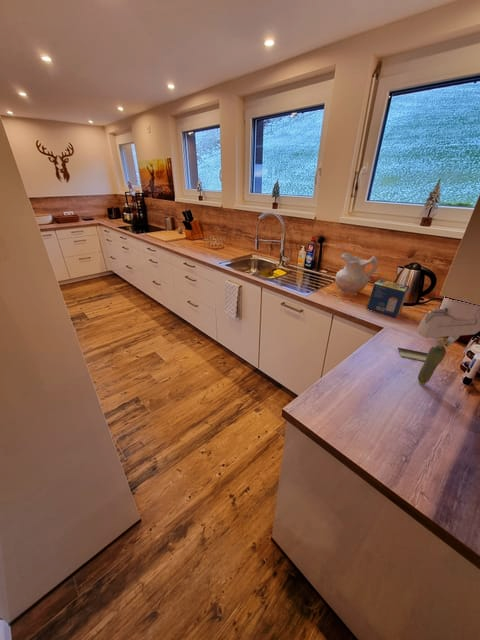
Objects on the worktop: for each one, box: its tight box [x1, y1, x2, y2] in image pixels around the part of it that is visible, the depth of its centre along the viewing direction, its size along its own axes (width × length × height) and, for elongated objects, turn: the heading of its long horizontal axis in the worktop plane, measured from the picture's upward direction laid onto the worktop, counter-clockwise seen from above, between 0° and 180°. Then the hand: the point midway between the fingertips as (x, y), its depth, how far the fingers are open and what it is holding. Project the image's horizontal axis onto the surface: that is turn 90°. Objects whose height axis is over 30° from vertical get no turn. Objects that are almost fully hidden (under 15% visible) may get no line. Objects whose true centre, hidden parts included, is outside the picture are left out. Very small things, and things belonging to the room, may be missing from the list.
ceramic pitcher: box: [335, 252, 379, 296], centre depth 164 cm, size 22×20×25 cm
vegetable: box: [417, 337, 448, 385], centre depth 89 cm, size 4×4×20 cm
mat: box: [397, 347, 429, 362], centre depth 110 cm, size 13×11×1 cm
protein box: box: [366, 278, 410, 319], centre depth 142 cm, size 10×15×16 cm
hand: (440, 345), depth 86 cm, fingers open, 3 cm apart
